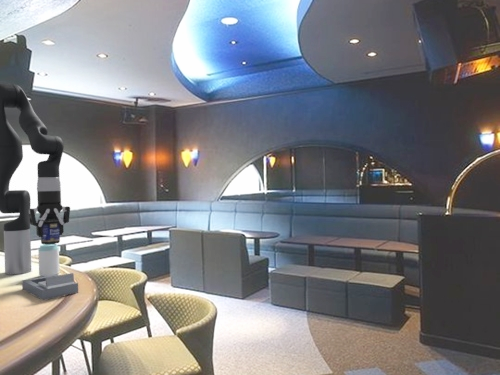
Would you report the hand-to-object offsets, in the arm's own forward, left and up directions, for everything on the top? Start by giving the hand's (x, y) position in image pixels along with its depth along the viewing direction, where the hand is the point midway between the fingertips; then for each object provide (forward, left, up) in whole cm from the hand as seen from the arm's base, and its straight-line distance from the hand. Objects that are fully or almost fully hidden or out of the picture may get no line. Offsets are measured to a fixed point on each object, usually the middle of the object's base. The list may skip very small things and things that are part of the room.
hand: (50, 235), depth 142 cm
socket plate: (+14, -6, -17) cm, 22 cm away
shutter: (+19, -5, -13) cm, 24 cm away
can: (-10, +3, -17) cm, 20 cm away
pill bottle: (0, 0, -3) cm, 3 cm away
